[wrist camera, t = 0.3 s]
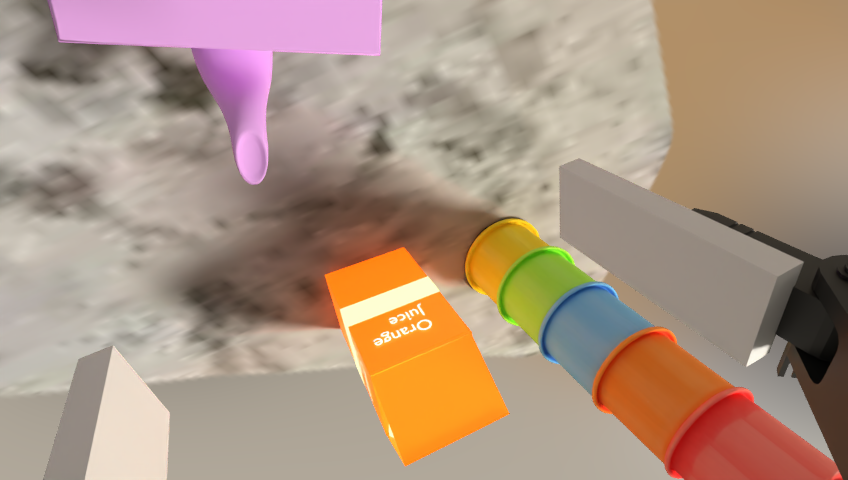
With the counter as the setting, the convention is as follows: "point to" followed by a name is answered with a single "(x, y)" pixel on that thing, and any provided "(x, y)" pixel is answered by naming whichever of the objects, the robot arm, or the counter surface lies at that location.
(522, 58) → the counter surface
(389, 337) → the orange juice
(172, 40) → the teapot
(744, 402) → the stacking cups
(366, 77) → the counter surface
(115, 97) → the counter surface
